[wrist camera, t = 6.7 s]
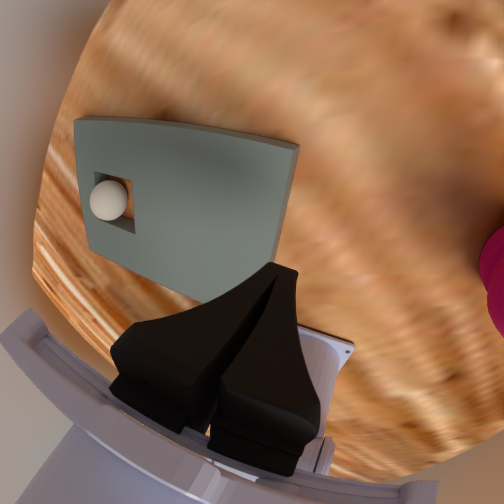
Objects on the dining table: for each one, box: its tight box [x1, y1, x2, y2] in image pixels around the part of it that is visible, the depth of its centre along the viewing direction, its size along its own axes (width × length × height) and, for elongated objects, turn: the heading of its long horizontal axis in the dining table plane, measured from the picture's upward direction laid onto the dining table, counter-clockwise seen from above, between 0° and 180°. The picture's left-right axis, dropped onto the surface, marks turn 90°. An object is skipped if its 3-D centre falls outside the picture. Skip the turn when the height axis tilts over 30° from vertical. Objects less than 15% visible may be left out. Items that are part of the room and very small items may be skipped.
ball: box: [90, 180, 128, 221], centre depth 24 cm, size 4×4×4 cm
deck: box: [74, 116, 300, 304], centre depth 24 cm, size 16×22×2 cm
